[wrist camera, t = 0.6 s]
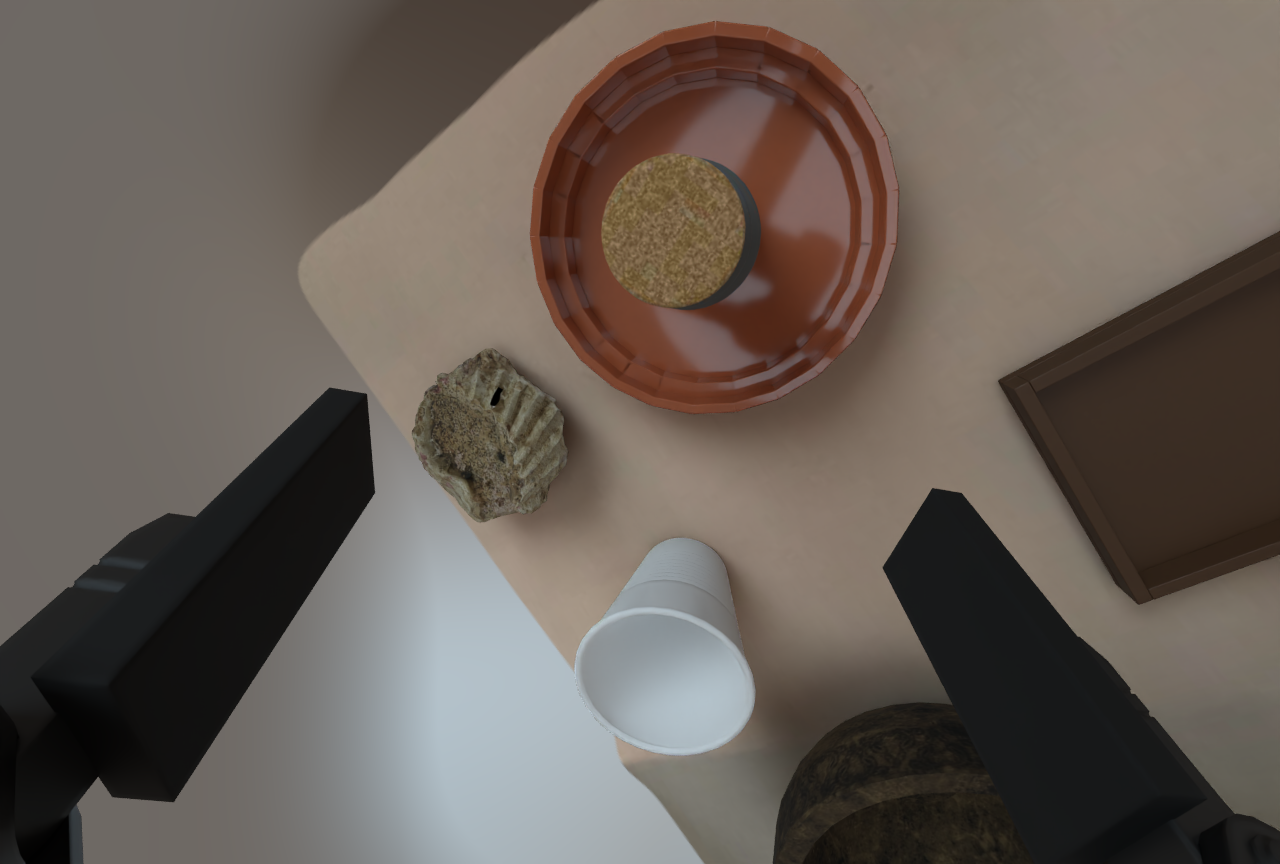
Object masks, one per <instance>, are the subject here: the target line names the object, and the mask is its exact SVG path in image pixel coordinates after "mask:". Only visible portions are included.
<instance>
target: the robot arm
mask: <svg viewBox="0 0 1280 864" xmlns="http://www.w3.org/2000/svg"><path fill="white" fill-rule="evenodd" d="M367 401H368V400H367V394H364V393H359V392H353V391H346V390H341V389H335V388H329V389H328V390H327V391H325V392H324V394H323V395H321V396H320V397H319V398H318V399H317V400H316V401H315V402H314V403H313V404H312V405H311V406H310V407H309V408H308V409H307V410H306V411H305V412H304V413H303V414H302V415H301V416H300V417H299V418H298V419H297V420H295V421H294V422H293V423H292V424H291V425H290V427H288V428H287V429H286V430H285V431H284V432H283V433H282V434H281V435H280V436H279V437H278V438H277V439H276V440H275V441H274V442H273V443H272V444H271V445H270V446H269V447H268V448H267V449H266V450H264V451H263V452H262V453H261V454H260V455H259V456H258V457H257V458H256V459H255V460H254V461H253V462H252V463H251V464H250V465H249V466H248V467H247V468H246V469H245V470H244V471H243V472H242V473H241V474H240V475H239V476H238V477H237V478H236V479H235V480H233V481H232V483H230V484H229V485H228V486H227V487H226V488H225V489H224V490H223V491H222V492H221V493H220V494H219V495H218V496H217V497H216V498H215V499H214V500H213V501H212V502H211V503H210V504H209V505H208V506H207V507H206V508H205V509H203V511H201V512H200V513H199V514H198V515H197V516H196V517H192V516H185V515H178V514H170V513H168V514H166V515H164V516H162V517H160V518H158V519H156V520H154V521H152V522H150V523H149V524H147V525H145V526H143V527H141V528H139V529H137V530H135V531H133V532H131V533H129V534H128V535H127V536H126V537H125V538H124V539H123V540H122V541H120V542H119V543H118V544H117V545H116V546H115V547H113V548H112V549H111V550H110V551H109V552H108V553H107V554H105V555H104V556H103V557H102V558H101V559H100V562H99V564H98V565H93V566H92V567H90V569H88V570H87V571H86V572H85V573H84V574H82V575H81V576H80V577H79V578H78V579H77V580H76V581H75V584H74V586H73V587H71V588H69V587H68V588H67V589H65V590H64V591H63V592H62V593H61V594H60V595H58V596H57V597H56V598H55V599H54V600H53V601H52V602H50V603H49V604H48V605H47V606H46V607H45V608H44V609H42V610H41V611H40V612H39V613H38V614H37V615H36V616H34V617H33V618H32V619H31V620H30V621H29V622H28V623H26V624H25V625H24V626H23V627H22V628H21V629H20V630H18V631H17V632H16V633H15V634H14V635H13V636H11V637H10V638H9V639H8V640H7V641H6V642H5V643H4V644H2V645H1V646H0V864H83V843H82V822H81V814H80V812H79V810H78V807H77V803H78V802H79V800H80V799H81V798H82V796H83V795H84V794H85V792H86V791H87V790H88V789H89V788H90V786H91V785H92V784H93V782H94V781H95V780H96V779H97V777H99V778H100V780H101V781H102V783H103V784H104V786H105V787H106V788H107V790H108V791H109V793H110V794H111V796H112V797H117V798H130V799H141V800H154V801H166V802H174V801H175V799H176V798H177V796H178V795H179V793H180V792H181V790H182V789H183V787H184V786H185V784H186V783H187V781H188V779H189V778H190V776H191V775H192V773H193V772H194V770H195V769H196V767H197V765H198V764H199V762H200V761H201V759H202V758H203V756H204V755H205V753H206V752H207V750H208V749H209V747H210V746H211V744H212V743H213V741H214V740H215V738H216V736H217V735H218V733H219V732H220V730H221V729H222V727H223V726H224V724H225V723H226V721H227V720H228V718H229V716H230V715H231V713H232V712H233V710H234V709H235V707H236V706H237V704H238V703H239V701H240V700H241V698H242V696H243V695H244V693H245V692H246V690H247V689H248V687H249V686H250V684H251V682H252V681H253V680H254V678H255V677H256V675H257V673H258V672H259V670H260V669H261V667H262V666H263V664H264V663H265V661H266V660H267V658H268V657H269V655H270V653H271V652H272V650H273V649H274V647H275V646H276V644H277V643H278V641H279V640H280V638H281V636H282V635H283V633H284V632H285V630H286V629H287V627H288V626H289V624H290V623H291V621H292V620H293V618H294V617H295V615H296V614H297V612H298V610H299V609H300V607H301V606H302V604H303V603H304V601H305V600H306V598H307V597H308V595H309V594H310V592H311V590H312V589H313V587H314V586H315V584H316V583H317V581H318V580H319V578H320V577H321V575H322V574H323V572H324V570H325V569H326V567H327V566H328V564H329V563H330V561H331V560H332V558H333V557H334V555H335V554H336V552H337V551H338V549H339V547H340V546H341V544H342V543H343V541H344V540H345V538H346V537H347V535H348V534H349V532H350V531H351V529H352V527H353V526H354V524H355V523H356V521H357V520H358V518H359V517H360V515H361V514H362V512H363V510H364V509H365V507H366V506H367V504H368V503H369V501H370V500H371V498H372V497H373V495H374V494H375V487H374V476H373V462H372V450H371V437H370V425H369V413H368V402H367ZM883 570H884V572H885V574H886V575H887V577H888V579H889V581H890V583H891V585H892V587H893V589H894V591H895V593H896V595H897V597H898V599H899V601H900V603H901V605H902V607H903V609H904V611H905V612H906V614H907V616H908V618H909V620H910V622H911V624H912V626H913V628H914V630H915V632H916V634H917V636H918V638H919V640H920V642H921V644H922V646H923V648H924V649H925V651H926V653H927V655H928V657H929V659H930V661H931V663H932V665H933V667H934V669H935V671H936V673H937V675H938V677H939V679H940V681H941V683H942V685H943V686H944V688H945V690H946V692H947V694H948V696H949V698H950V700H951V702H952V704H953V706H954V708H955V710H956V712H957V714H958V716H959V718H960V720H961V722H962V723H963V725H964V727H965V729H966V731H967V733H968V735H969V737H970V739H971V741H972V743H973V745H974V747H975V749H976V751H977V753H978V755H979V757H980V759H981V760H982V762H983V764H984V766H985V768H986V770H987V772H988V774H989V776H990V778H991V780H992V782H993V784H994V786H995V788H996V790H997V792H998V794H999V796H1000V797H1001V799H1002V801H1003V803H1004V805H1005V807H1006V809H1007V811H1008V813H1009V815H1010V817H1011V819H1012V821H1013V823H1014V825H1015V827H1016V829H1017V831H1018V833H1019V834H1020V836H1021V838H1022V840H1023V842H1024V844H1025V846H1026V848H1027V850H1028V852H1029V854H1030V856H1031V858H1032V860H1033V862H1034V864H1103V863H1105V862H1106V861H1107V862H1108V864H1280V832H1279V831H1278V830H1277V829H1275V828H1273V827H1272V826H1270V825H1268V824H1266V823H1264V822H1262V821H1260V820H1258V819H1256V818H1254V817H1250V816H1246V815H1242V814H1234V812H1233V811H1232V810H1231V809H1230V808H1229V807H1228V806H1227V805H1226V804H1225V803H1224V801H1223V800H1222V799H1221V798H1220V797H1219V795H1218V794H1217V793H1216V792H1215V790H1214V789H1213V788H1212V787H1211V786H1210V784H1209V783H1208V782H1207V781H1206V780H1205V778H1204V777H1203V776H1202V775H1201V773H1200V772H1199V771H1198V770H1197V769H1196V767H1195V766H1194V765H1193V764H1192V763H1191V761H1190V760H1189V759H1188V758H1187V756H1186V755H1185V754H1184V753H1183V752H1182V750H1181V749H1180V748H1179V747H1178V746H1177V744H1176V743H1175V742H1174V741H1173V739H1172V738H1171V737H1170V736H1169V735H1168V733H1167V732H1166V731H1165V730H1164V729H1163V727H1162V726H1161V725H1160V724H1159V723H1158V721H1157V720H1156V719H1155V718H1154V717H1150V716H1149V710H1148V709H1147V708H1146V707H1145V706H1144V704H1143V703H1142V702H1141V701H1140V699H1139V698H1138V697H1137V696H1136V695H1135V694H1131V692H1130V690H1131V689H1130V687H1129V686H1128V685H1127V684H1126V682H1125V681H1124V680H1123V679H1122V678H1121V676H1120V675H1119V674H1118V673H1117V672H1116V670H1115V669H1114V668H1113V667H1112V665H1111V664H1110V663H1109V662H1108V661H1107V660H1106V659H1105V658H1103V657H1102V656H1101V655H1100V654H1099V653H1098V652H1097V651H1095V650H1094V649H1093V648H1092V647H1091V646H1090V645H1088V644H1087V643H1086V642H1085V641H1084V640H1083V639H1082V638H1080V637H1077V636H1076V634H1075V633H1074V632H1073V631H1072V629H1071V628H1070V627H1069V626H1068V624H1067V623H1066V622H1065V621H1064V620H1063V618H1062V617H1061V616H1060V615H1059V613H1058V612H1057V611H1056V610H1055V608H1054V607H1053V606H1052V605H1051V603H1050V602H1049V601H1048V600H1047V598H1046V597H1045V596H1044V595H1043V593H1042V592H1041V591H1040V590H1039V588H1038V587H1037V586H1036V585H1035V583H1034V582H1033V581H1032V580H1031V579H1030V577H1029V576H1028V575H1027V574H1026V572H1025V571H1024V570H1023V569H1022V567H1021V566H1020V565H1019V564H1018V562H1017V561H1016V560H1015V559H1014V557H1013V556H1012V555H1011V554H1010V552H1009V551H1008V550H1007V549H1006V547H1005V546H1004V545H1003V544H1002V543H1001V541H1000V540H999V539H998V538H997V536H996V535H995V534H994V533H993V531H992V530H991V529H990V528H989V526H988V525H987V524H986V523H985V521H984V520H983V519H982V518H981V516H980V515H979V514H978V513H977V511H976V510H975V509H974V508H973V506H972V505H971V504H970V503H969V502H968V500H967V499H966V498H965V497H964V495H963V494H962V493H958V492H952V491H946V490H940V489H934V488H932V490H931V492H930V493H929V495H928V496H927V498H926V499H925V501H924V503H923V504H922V506H921V507H920V509H919V511H918V512H917V514H916V515H915V517H914V518H913V520H912V522H911V523H910V525H909V526H908V528H907V530H906V531H905V533H904V534H903V536H902V537H901V539H900V541H899V542H898V544H897V545H896V547H895V549H894V550H893V552H892V553H891V555H890V557H889V558H888V560H887V561H886V563H885V564H884V566H883Z"/></svg>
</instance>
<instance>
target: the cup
mask: <svg viewBox="0 0 1280 864" xmlns="http://www.w3.org/2000/svg"><path fill="white" fill-rule="evenodd" d="M574 668H575V680H576V684H577V687H578V691H579V694H580V696H581V698H582V700H583V702H584V704H585V706H586V707H587V709H588V710H589V711H590V713H591V714H592V715H593V716H594V718H595V719H596V720H597V721H598V722H599V723H600V724H601V725H602V726H603V727H605V728H606V729H607V730H608V731H609V732H610V733H612V734H613V735H615V736H616V737H618V738H619V739H621V740H622V741H625V742H627V743H629V744H631V745H633V746H635V747H637V748H640V749H643V750H647V751H650V752H653V753H658V754H665V755H672V756H688V755H695V754H701V753H705V752H708V751H711V750H714V749H717V748H719V747H721V746H723V745H724V744H726V743H728V742H730V741H731V740H732V739H733V738H734V737H736V736H737V735H738V734H739V733H740V732H741V731H742V730H743V728H744V727H745V725H746V724H747V722H748V721H749V719H750V717H751V714H752V711H753V708H754V705H755V691H756V688H755V683H754V678H753V673H752V671H751V669H750V666H749V664H748V662H747V660H746V658H745V655H744V650H743V645H742V641H741V636H740V631H739V627H738V622H737V618H736V613H735V608H734V604H733V599H732V594H731V589H730V584H729V579H728V575H727V570H726V567H725V565H724V562H723V561H722V559H721V558H720V556H719V555H718V554H717V553H716V552H715V551H714V550H713V549H712V548H710V547H709V546H707V545H706V544H704V543H702V542H700V541H697V540H693V539H689V538H672V539H669V540H665V541H663V542H661V543H659V544H657V545H656V546H655V547H654V548H652V549H651V550H650V552H649V553H648V554H647V556H646V557H645V558H644V560H643V561H642V563H641V564H640V565H639V567H638V569H637V570H636V571H635V573H634V574H633V576H632V577H631V579H630V580H629V581H628V583H627V584H626V585H625V587H624V588H623V590H622V591H621V592H620V594H619V595H618V597H617V598H616V600H615V601H614V602H613V604H612V605H611V606H610V608H609V609H608V611H607V612H606V613H605V615H604V616H603V618H602V619H601V620H600V621H599V622H598V623H597V624H596V625H594V626H593V627H592V628H591V629H590V630H589V631H588V633H587V634H586V635H585V636H584V638H583V639H582V641H581V643H580V646H579V648H578V650H577V653H576V659H575V665H574Z"/></svg>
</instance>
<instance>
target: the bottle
mask: <svg viewBox="0 0 1280 864" xmlns="http://www.w3.org/2000/svg"><path fill="white" fill-rule="evenodd" d="M601 235H602V245H603V250H604V254H605V258H606V261H607V263H608V265H609V268H610V270H611V272H612V273H613V275H614V277H615V278H616V279H617V281H618V282H619V283H620V284H621V286H622V287H623V288H624V289H625V290H627V291H628V292H629V293H630V294H632V295H633V296H634V297H636V298H637V299H639V300H641V301H643V302H645V303H648V304H651V305H654V306H658V307H664V308H673V309H679V310H695V309H701V308H705V307H708V306H711V305H713V304H716V303H718V302H720V301H722V300H724V299H725V298H727V297H728V296H729V295H731V294H732V293H733V292H734V291H735V290H736V289H737V288H738V287H740V285H741V284H742V283H743V282H744V280H745V279H746V277H747V276H748V274H749V273H750V271H751V269H752V268H753V266H754V263H755V261H756V258H757V255H758V251H759V247H760V240H761V223H760V216H759V212H758V208H757V205H756V203H755V200H754V198H753V196H752V194H751V192H750V191H749V189H748V188H747V186H746V185H745V183H744V182H743V181H742V180H741V179H740V178H739V177H738V176H737V175H736V174H735V173H734V172H733V171H731V170H730V169H728V168H727V167H725V166H723V165H722V164H720V163H717V162H714V161H711V160H708V159H704V158H699V157H695V156H691V155H687V154H680V153H668V154H664V155H659V156H656V157H652V158H649V159H647V160H645V161H643V162H641V163H640V164H638V165H636V166H635V167H633V168H632V169H631V170H630V171H629V172H628V173H627V174H626V175H625V176H624V177H623V178H622V179H621V180H620V181H619V182H618V183H617V185H616V187H615V188H614V190H613V192H612V193H611V195H610V197H609V199H608V202H607V204H606V207H605V211H604V215H603V220H602V231H601Z"/></svg>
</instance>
